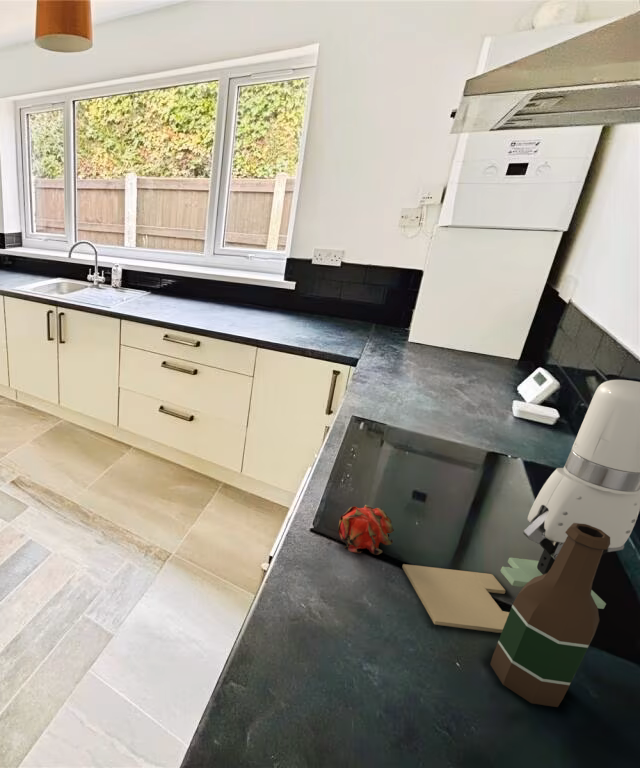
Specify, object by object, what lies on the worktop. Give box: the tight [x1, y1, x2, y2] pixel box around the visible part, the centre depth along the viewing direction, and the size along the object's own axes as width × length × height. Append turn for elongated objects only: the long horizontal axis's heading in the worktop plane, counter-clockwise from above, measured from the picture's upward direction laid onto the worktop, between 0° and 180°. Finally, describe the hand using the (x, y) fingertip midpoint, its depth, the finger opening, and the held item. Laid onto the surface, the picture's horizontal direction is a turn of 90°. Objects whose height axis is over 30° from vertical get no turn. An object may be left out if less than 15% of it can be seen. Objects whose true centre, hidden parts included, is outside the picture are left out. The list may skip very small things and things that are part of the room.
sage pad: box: [500, 541, 607, 610], centre depth 68 cm, size 10×8×7 cm
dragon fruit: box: [337, 504, 395, 556], centre depth 83 cm, size 8×8×12 cm
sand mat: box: [401, 563, 510, 634], centre depth 72 cm, size 14×12×1 cm
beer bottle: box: [489, 523, 610, 708], centre depth 56 cm, size 8×8×24 cm
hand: (556, 576), depth 68 cm, fingers closed on sage pad
